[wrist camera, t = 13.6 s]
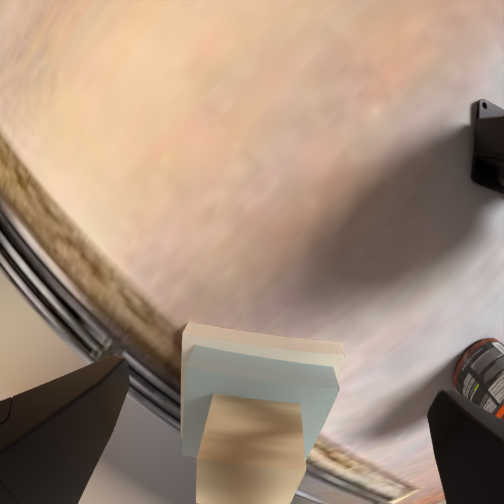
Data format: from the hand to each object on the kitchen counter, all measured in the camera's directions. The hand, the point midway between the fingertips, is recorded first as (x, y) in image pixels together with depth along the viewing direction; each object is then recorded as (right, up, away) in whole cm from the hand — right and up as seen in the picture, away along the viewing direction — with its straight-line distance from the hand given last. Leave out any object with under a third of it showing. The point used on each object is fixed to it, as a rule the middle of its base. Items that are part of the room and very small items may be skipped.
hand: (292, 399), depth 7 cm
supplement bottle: (+19, -6, +14) cm, 25 cm away
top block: (-1, -8, +14) cm, 16 cm away
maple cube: (-1, -8, +11) cm, 14 cm away
